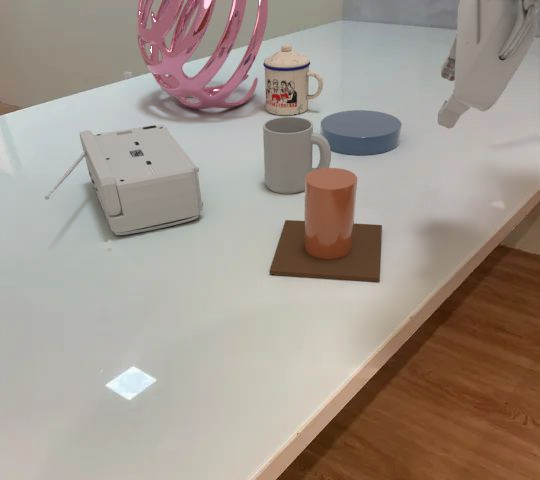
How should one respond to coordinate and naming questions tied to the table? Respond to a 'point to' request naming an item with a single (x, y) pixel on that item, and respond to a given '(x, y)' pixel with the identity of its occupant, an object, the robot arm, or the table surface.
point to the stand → (361, 132)
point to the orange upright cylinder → (329, 212)
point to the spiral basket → (184, 48)
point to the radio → (140, 178)
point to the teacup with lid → (288, 82)
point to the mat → (345, 268)
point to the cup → (291, 153)
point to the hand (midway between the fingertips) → (445, 98)
